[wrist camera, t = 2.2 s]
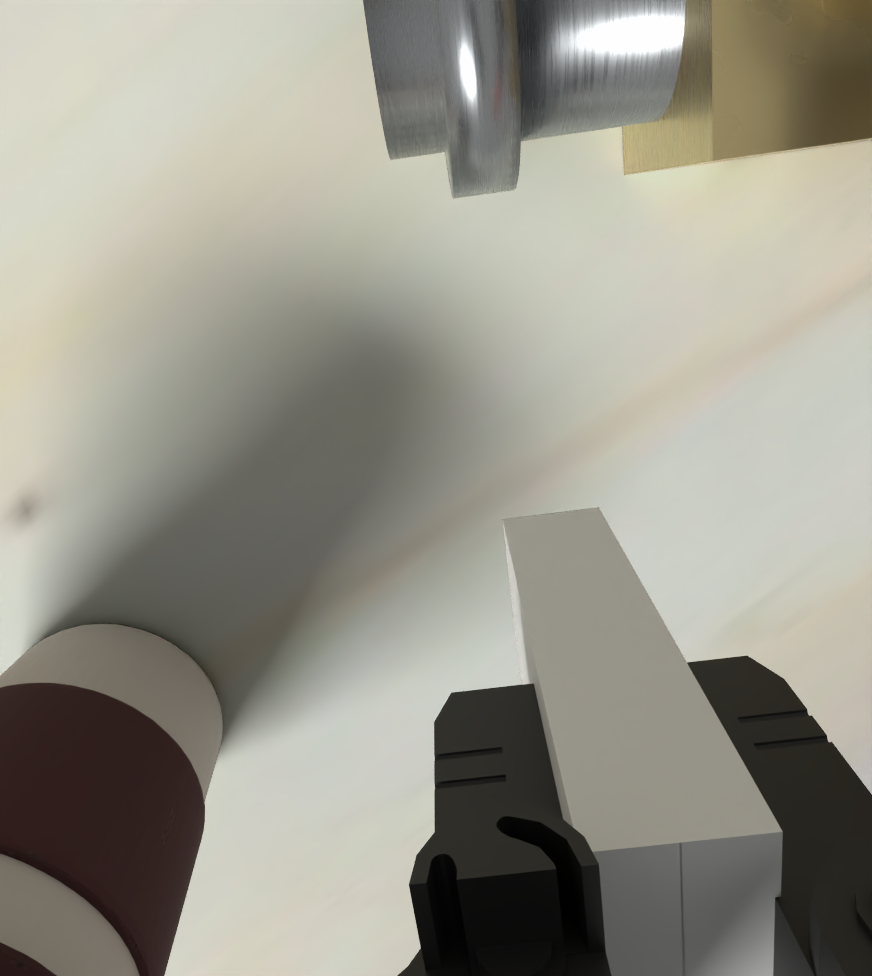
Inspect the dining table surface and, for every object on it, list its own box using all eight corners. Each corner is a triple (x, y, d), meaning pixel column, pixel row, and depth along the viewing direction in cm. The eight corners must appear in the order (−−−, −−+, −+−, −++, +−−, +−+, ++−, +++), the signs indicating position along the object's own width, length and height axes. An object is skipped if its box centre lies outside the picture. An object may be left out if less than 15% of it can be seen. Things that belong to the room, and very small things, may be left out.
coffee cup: (262, 588, 25) (36, 1100, 11) (268, 827, 28) (103, 1453, 14) (-49, 573, 24) (-708, 1078, 10) (-5, 816, 28) (-450, 1442, 14)
